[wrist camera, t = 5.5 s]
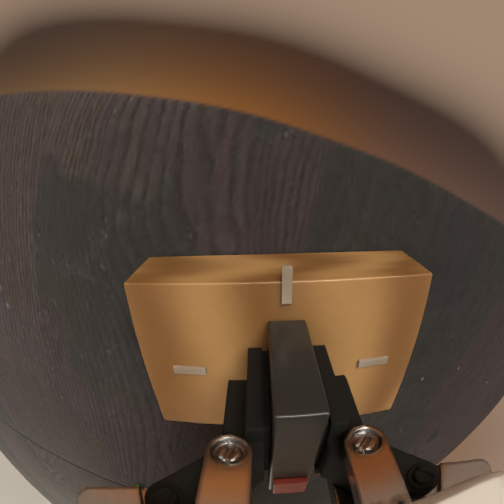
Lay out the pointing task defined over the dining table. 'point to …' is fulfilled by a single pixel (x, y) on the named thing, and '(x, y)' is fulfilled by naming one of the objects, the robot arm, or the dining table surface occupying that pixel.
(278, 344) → the black block
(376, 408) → the dial panel
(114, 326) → the dining table surface
